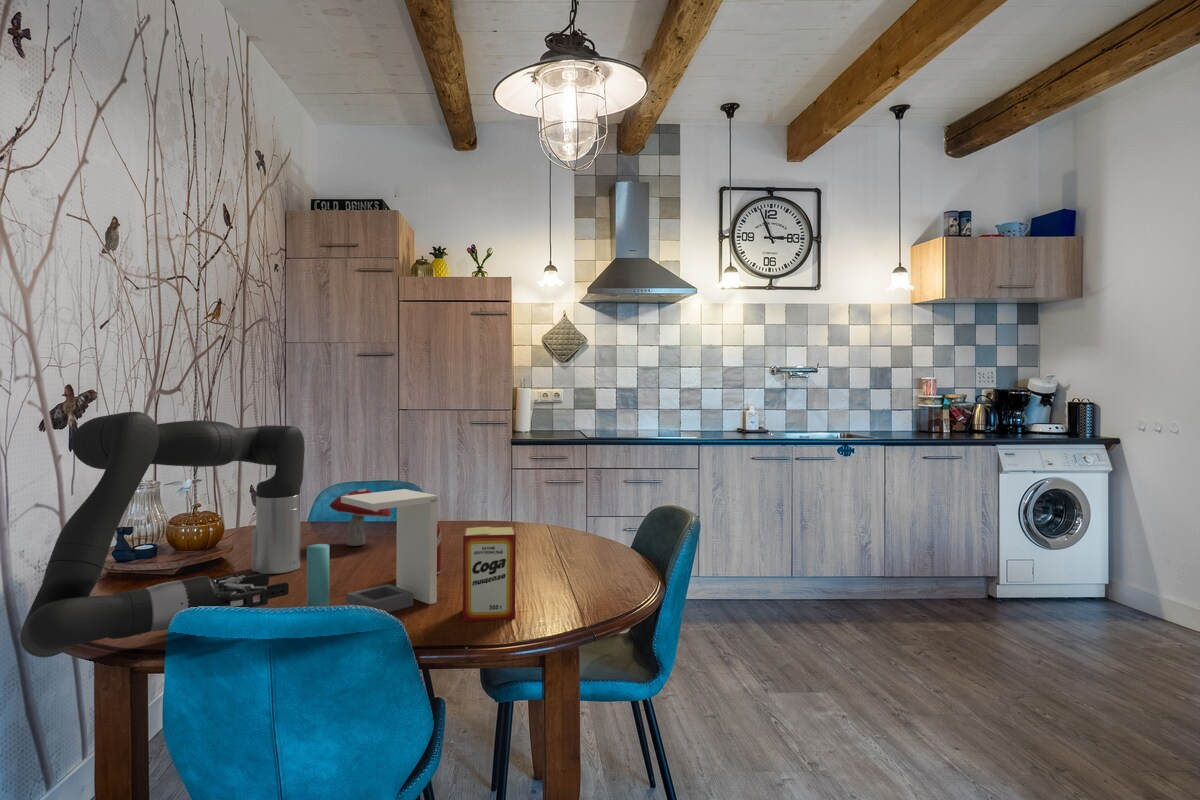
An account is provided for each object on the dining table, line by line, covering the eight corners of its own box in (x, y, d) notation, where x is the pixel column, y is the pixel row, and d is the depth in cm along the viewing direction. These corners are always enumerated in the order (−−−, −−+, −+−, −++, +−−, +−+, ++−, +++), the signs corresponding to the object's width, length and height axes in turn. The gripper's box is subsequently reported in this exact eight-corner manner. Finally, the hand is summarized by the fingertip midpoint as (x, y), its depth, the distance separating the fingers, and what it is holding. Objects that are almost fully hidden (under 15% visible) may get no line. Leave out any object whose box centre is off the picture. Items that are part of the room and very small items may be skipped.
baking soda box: (513, 607, 134) (514, 525, 134) (515, 618, 128) (515, 532, 128) (463, 609, 133) (464, 526, 133) (462, 621, 126) (463, 533, 126)
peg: (302, 611, 131) (302, 548, 130) (313, 605, 135) (313, 543, 134) (322, 612, 130) (323, 549, 130) (333, 605, 134) (333, 544, 134)
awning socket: (372, 619, 127) (373, 503, 126) (340, 605, 135) (340, 496, 134) (437, 602, 137) (438, 495, 137) (403, 590, 145) (404, 489, 145)
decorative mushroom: (346, 537, 194) (346, 484, 194) (400, 539, 193) (401, 485, 192) (317, 550, 179) (317, 492, 178) (376, 553, 177) (376, 494, 177)
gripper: (192, 589, 110) (295, 570, 122) (164, 572, 120) (261, 556, 132) (193, 636, 110) (295, 612, 122) (164, 616, 120) (261, 595, 132)
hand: (277, 583), depth 127 cm, fingers open, 8 cm apart
